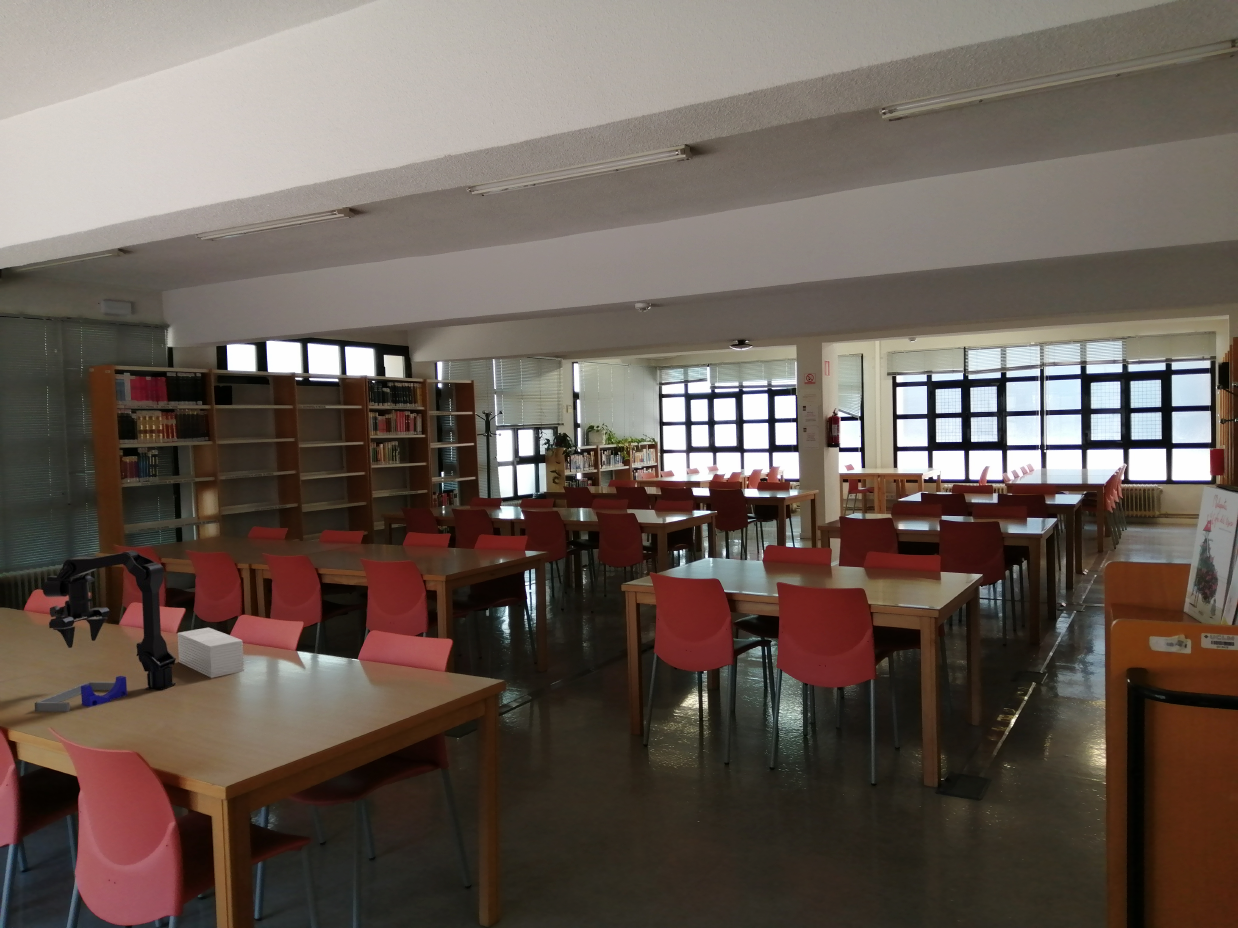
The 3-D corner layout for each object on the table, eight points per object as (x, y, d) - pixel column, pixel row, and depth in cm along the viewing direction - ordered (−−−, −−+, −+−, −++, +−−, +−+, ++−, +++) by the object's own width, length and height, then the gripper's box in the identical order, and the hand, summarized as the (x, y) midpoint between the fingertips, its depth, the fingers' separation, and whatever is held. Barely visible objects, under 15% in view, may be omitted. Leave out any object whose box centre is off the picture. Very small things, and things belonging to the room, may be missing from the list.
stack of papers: (244, 671, 298) (242, 640, 297) (211, 678, 290) (209, 646, 290) (210, 656, 321) (208, 627, 320) (179, 662, 313) (177, 632, 313)
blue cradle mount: (90, 707, 262) (89, 687, 262) (82, 705, 264) (80, 685, 264) (129, 696, 272) (128, 677, 272) (121, 694, 275) (120, 675, 274)
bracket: (120, 689, 279) (119, 681, 279) (67, 711, 258) (67, 703, 258) (89, 689, 281) (89, 681, 281) (35, 711, 259) (34, 702, 259)
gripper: (81, 591, 294) (84, 637, 294) (32, 602, 275) (36, 651, 276) (109, 590, 291) (112, 637, 292) (62, 601, 273) (65, 651, 274)
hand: (82, 644), depth 283 cm, fingers open, 9 cm apart
